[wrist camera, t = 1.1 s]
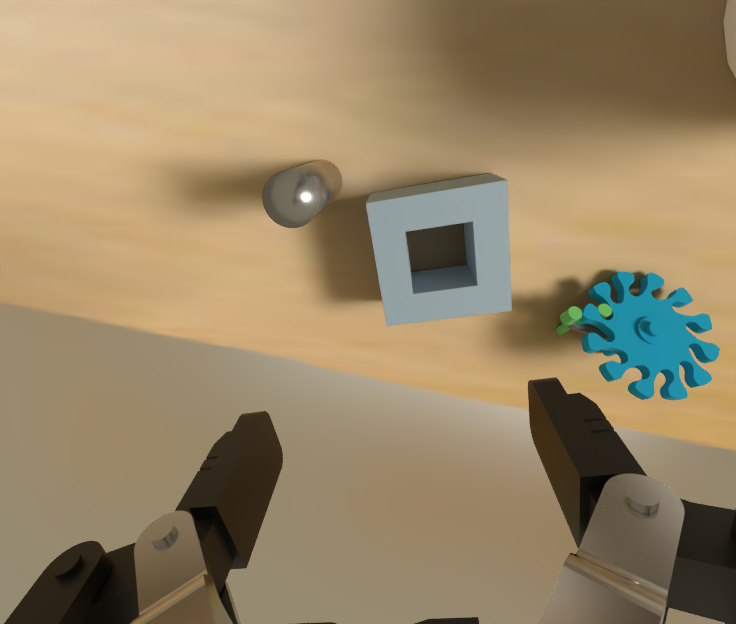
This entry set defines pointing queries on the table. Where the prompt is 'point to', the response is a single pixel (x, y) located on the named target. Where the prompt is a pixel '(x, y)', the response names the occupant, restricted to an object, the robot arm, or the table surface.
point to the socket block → (450, 284)
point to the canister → (730, 34)
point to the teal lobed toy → (643, 335)
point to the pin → (301, 192)
